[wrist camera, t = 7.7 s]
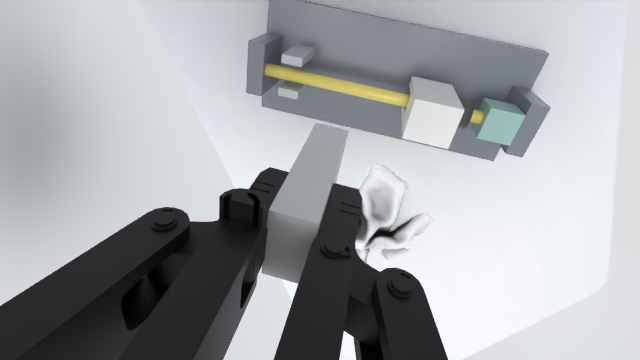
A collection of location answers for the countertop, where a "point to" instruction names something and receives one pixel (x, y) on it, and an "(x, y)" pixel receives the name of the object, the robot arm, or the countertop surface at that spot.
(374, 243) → the cloth
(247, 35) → the countertop surface
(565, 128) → the countertop surface
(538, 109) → the linear slide fixture
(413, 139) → the white rectangular block
